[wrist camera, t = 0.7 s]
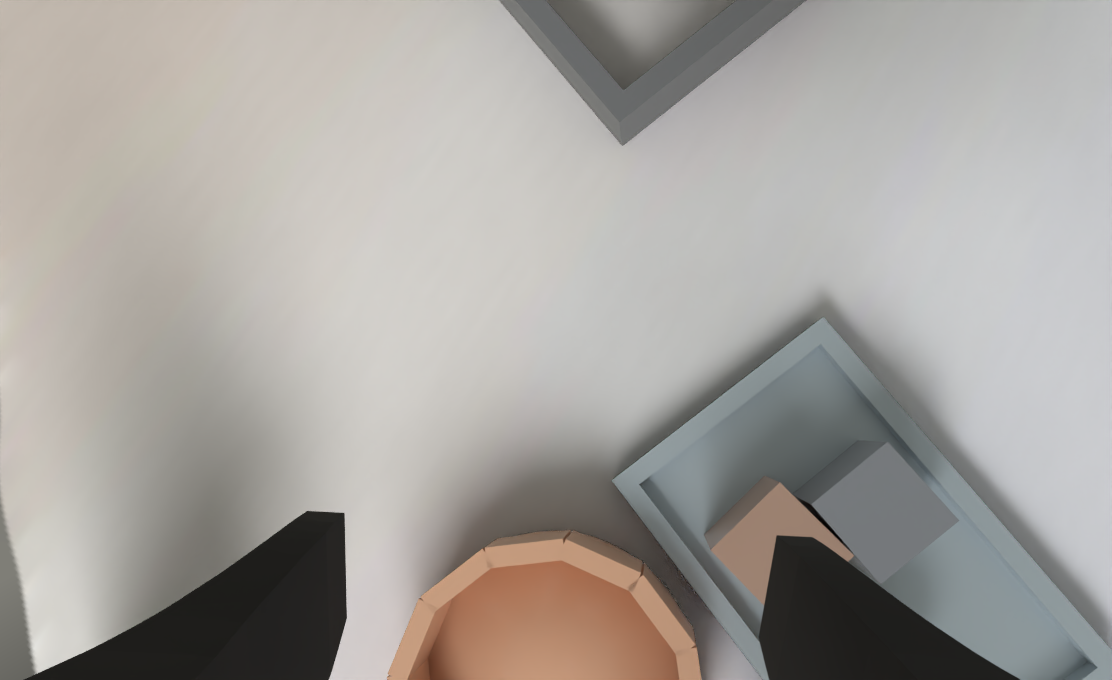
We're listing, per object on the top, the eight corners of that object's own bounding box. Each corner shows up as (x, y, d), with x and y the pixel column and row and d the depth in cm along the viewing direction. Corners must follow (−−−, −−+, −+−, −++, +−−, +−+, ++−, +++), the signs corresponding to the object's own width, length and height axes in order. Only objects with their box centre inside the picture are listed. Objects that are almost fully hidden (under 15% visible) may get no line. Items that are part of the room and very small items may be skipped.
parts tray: (1111, 662, 28) (1131, 673, 27) (882, 832, 29) (891, 850, 27) (817, 320, 31) (823, 316, 30) (613, 478, 32) (611, 480, 31)
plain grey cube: (919, 508, 29) (959, 520, 25) (851, 563, 30) (880, 584, 26) (857, 440, 30) (887, 441, 26) (791, 494, 30) (811, 504, 26)
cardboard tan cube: (828, 538, 30) (854, 555, 26) (766, 599, 30) (782, 625, 26) (764, 475, 30) (779, 482, 26) (703, 534, 30) (710, 550, 26)
